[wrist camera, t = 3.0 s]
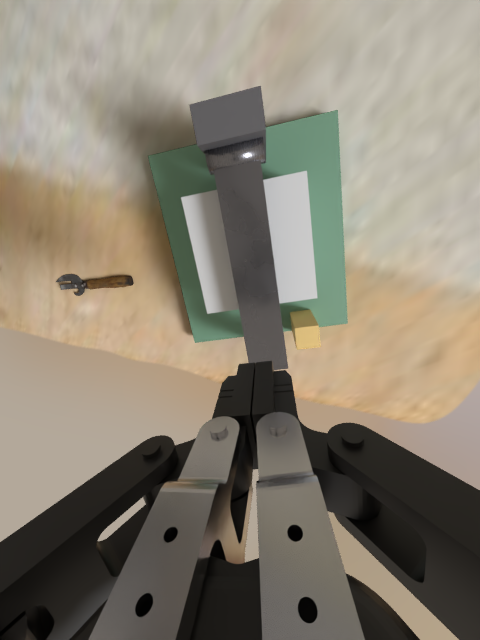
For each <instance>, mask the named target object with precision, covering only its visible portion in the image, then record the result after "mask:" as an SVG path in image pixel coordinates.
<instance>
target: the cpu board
mask: <svg viewBox="0 0 480 640" xmlns="http://www.w3.org/2000/svg"><path fill="white" fill-rule="evenodd" d="M190 111H191V116H192V121H193V126H194V131H195V136H196V141H197V144H195V145H191V146H187V147H183V148H178V149H174V150H170V151H166V152H162V153H158V154H154V155H150V156H148V158H149V162H150V166H151V170H152V174H153V178H154V182H155V186H156V190H157V194H158V198H159V202H160V206H161V210H162V214H163V218H164V222H165V226H166V230H167V234H168V238H169V242H170V246H171V250H172V254H173V258H174V262H175V266H176V269H177V273H178V277H179V281H180V285H181V289H182V293H183V297H184V301H185V305H186V309H187V313H188V317H189V321H190V325H191V329H192V333H193V337H194V341H195V343H197V342H205V341H213V340H220V339H228V338H236V337H244V334H243V328H242V323H241V317H240V312H239V307H238V301H237V296H236V290H235V285H234V279H233V274H232V268H231V263H230V258H229V252H228V247H227V241H226V236H225V230H224V225H223V219H222V214H221V209H220V203H219V198H218V192H217V187H216V181H215V176H214V174H213V175H210V173H209V170H208V167H207V163H206V158H205V150H209V149H213V148H217V147H221V146H225V145H230V144H234V143H238V142H242V141H246V140H251V139H255V138H260V137H263V142H264V150H265V159H266V163H263V164H261V167H262V174H263V182H264V189H265V197H266V205H267V212H268V220H269V227H270V235H271V243H272V250H273V258H274V265H275V273H276V280H277V288H278V296H279V303H280V311H281V318H282V326H283V332H284V331H292V332H293V336H294V340H295V344H296V348H297V350H299V349H307V348H316V347H321V346H320V334H319V327H323V326H331V325H339V324H347V323H348V321H347V300H346V278H345V257H344V235H343V214H342V192H341V171H340V149H339V128H338V110H335V111H331V112H327V113H323V114H319V115H315V116H311V117H306V118H302V119H298V120H294V121H290V122H286V123H282V124H278V125H273V126H269V127H266V126H265V117H264V109H263V101H262V93H261V86H258V87H254V88H251V89H247V90H243V91H239V92H236V93H232V94H228V95H224V96H221V97H217V98H213V99H209V100H206V101H202V102H198V103H194V104H191V105H190Z"/></svg>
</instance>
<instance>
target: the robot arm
mask: <svg viewBox="0 0 480 640" xmlns="http://www.w3.org/2000/svg"><path fill="white" fill-rule="evenodd" d="M253 469H258V472H259V481H257V484H256V490H257V491H256V492H257V517H258V541H259V558H258V559H255V560H252V561H249V562H246V563H245V547H246V540H247V532H248V524H249V516H250V508H251V501H252V493H253V488H252V472H253ZM142 497H143V498H144V500H145V503H146V505H145V506H144V507H143V508H141V509H140V510H139V511H138V512H137V513H136V514H134V515H133V516H132V517H131V518H130V519H129V520H128V521H126V522H125V523H124V524H123V525H122V526H121V527H120V528H118V529H117V530H116V531H115V532H114V533H113V534H112V535H111V536H109V537H108V538H107V539H105V540H103V541H99V542H98V541H97V540H98V538H99V536H100V534H101V533H102V532H103V531H104V530H105V529H106V528H107V527H108V526H109V525H110V524H111V523H113V522H114V521H115V520H116V519H117V518H118V517H120V516H121V515H122V514H123V513H124V512H126V511H127V510H128V509H129V508H130V507H131V506H133V505H134V504H135V503H136V502H137V501H138V500H140V498H142ZM328 511H329V512H333V513H334V514H335V516H336V518H337V520H338V521H339V522H340V524H341V525H342V526H343V527H345V529H346V530H347V531H348V532H349V533H350V534H352V535H353V536H354V537H355V538H356V539H357V540H358V541H359V542H360V543H361V544H362V545H363V546H364V547H365V548H366V549H367V550H368V551H369V552H370V553H371V554H372V555H373V556H374V557H375V558H376V559H377V560H378V561H379V562H380V563H382V564H383V566H385V568H386V569H387V570H388V571H389V572H391V574H392V575H394V576H395V577H396V578H397V579H398V580H399V581H400V582H401V583H402V584H403V585H404V586H405V587H406V588H407V589H408V590H409V591H410V592H411V593H412V594H413V595H414V596H415V597H416V598H417V599H418V600H419V601H420V602H421V603H422V604H423V605H424V606H425V607H427V609H428V610H429V611H430V612H432V613H433V615H434V616H436V617H437V618H438V619H439V620H440V621H441V622H442V623H443V624H444V625H445V626H446V627H447V628H448V629H449V630H450V631H451V632H452V633H453V634H454V635H455V636H456V637H457V638H458V639H459V640H480V490H478V489H476V488H474V487H473V486H471V485H469V484H467V483H465V482H464V481H462V480H460V479H458V478H456V477H455V476H453V475H451V474H449V473H447V472H446V471H444V470H442V469H440V468H438V467H437V466H435V465H433V464H431V463H429V462H428V461H426V460H424V459H422V458H421V457H419V456H417V455H415V454H413V453H412V452H410V451H408V450H406V449H404V448H403V447H401V446H399V445H397V444H396V443H394V442H392V441H390V440H388V439H387V438H385V437H383V436H381V435H379V434H378V433H376V432H374V431H372V430H371V429H369V428H367V427H365V426H362V425H360V424H355V423H342V424H338V425H335V426H334V427H332V428H331V429H330V430H329V431H328V433H322V432H317V431H314V430H311V429H309V428H307V427H306V426H304V425H303V424H302V423H301V422H300V421H299V419H298V415H297V410H296V403H295V397H294V391H293V385H292V379H291V376H290V375H289V374H288V373H287V372H286V371H285V370H283V371H274V368H273V362H272V361H263V362H256V364H255V363H246V364H239V366H238V371H237V375H236V376H228V377H227V379H226V380H225V381H224V382H223V383H222V386H221V389H220V393H219V396H218V400H217V403H216V407H215V410H214V414H213V417H212V419H211V420H209V421H208V422H206V423H205V424H204V425H203V426H202V427H201V429H200V430H199V432H198V435H197V437H196V438H195V439H193V440H191V441H188V442H185V443H182V444H179V445H174V442H173V440H172V439H171V438H170V437H168V436H155V437H152V438H150V439H147V440H146V441H144V442H142V443H141V444H140V445H138V446H137V447H135V448H134V449H133V450H131V451H130V452H128V453H127V454H125V455H124V456H122V457H121V458H120V459H119V460H117V461H115V462H114V463H112V464H111V465H110V466H108V467H107V468H105V469H104V470H103V471H101V472H100V473H98V474H97V475H95V476H94V477H93V478H91V479H90V480H88V481H87V482H85V483H84V484H83V485H81V486H80V487H78V488H77V489H75V490H74V491H73V492H71V493H70V494H68V495H67V496H65V497H64V498H63V499H61V500H60V501H58V502H57V503H56V504H54V505H53V506H51V507H50V508H49V509H47V510H46V511H44V512H43V513H41V514H40V515H38V516H37V517H36V518H34V519H33V520H31V521H30V522H29V523H27V524H26V525H24V526H23V527H21V528H20V529H19V530H17V531H16V532H14V533H13V534H12V535H10V536H9V537H7V538H6V539H4V540H3V541H1V542H0V640H420V639H419V638H418V637H417V636H416V635H415V634H414V632H413V631H412V630H411V629H410V628H409V627H408V626H407V624H406V623H405V622H404V621H403V620H402V619H401V618H400V616H399V615H398V614H397V613H396V612H395V611H394V610H393V609H392V608H391V607H390V606H389V605H388V604H387V603H386V602H385V601H384V600H383V599H382V598H381V597H380V596H379V595H378V594H377V593H375V592H374V591H373V590H371V589H370V588H369V587H368V586H366V585H365V584H364V583H362V582H360V581H359V580H357V579H356V578H354V577H352V576H350V575H348V574H346V573H345V570H344V566H343V563H342V560H341V556H340V553H339V549H338V546H337V542H336V539H335V535H334V532H333V529H332V525H331V522H330V518H329V515H328Z"/></svg>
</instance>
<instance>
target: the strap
mask: <svg viewBox="0 0 480 640" xmlns="http://www.w3.org/2000/svg"><path fill="white" fill-rule="evenodd" d="M205 158H206V163H207V167H208V170H209V173H210V175H213V174H214V176H215V181H216V187H217V192H218V198H219V203H220V209H221V214H222V219H223V225H224V230H225V236H226V241H227V247H228V252H229V258H230V263H231V268H232V274H233V279H234V285H235V290H236V296H237V301H238V307H239V312H240V317H241V323H242V328H243V334H244V339H245V345H246V350H247V355H248V361H249V363H255V364H256V362H263V361H272V362H273V368H274V370H278V369H288V364H287V356H286V349H285V341H284V333H283V326H282V318H281V311H280V303H279V296H278V288H277V280H276V273H275V265H274V258H273V250H272V243H271V235H270V227H269V220H268V212H267V205H266V197H265V189H264V182H263V174H262V167H261V164H263V163H266V159H265V150H264V142H263V137H260V138H255V139H251V140H246V141H242V142H238V143H234V144H230V145H225V146H221V147H217V148H213V149H209V150H205Z"/></svg>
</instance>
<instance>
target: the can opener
mask: <svg viewBox="0 0 480 640" xmlns="http://www.w3.org/2000/svg"><path fill="white" fill-rule="evenodd" d="M61 281H71V282H72V284H65V285H60V288H61V290H63V289H74V288H78V290H79V293H74V294H75V295H77V296H80V295H82V294H83V293H84V289H85V288H86V289H97V288H117V287H126V286H131V285H133V279H132V277H131V276H119V277H110V278H105V279H96V280H88V281H85V282H84V281H82V280H81V279H80V278H79V276H77V275H75V274H68V275H63V276H61V277H60V278H59V279H58V280H57V281H56V282H61Z"/></svg>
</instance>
